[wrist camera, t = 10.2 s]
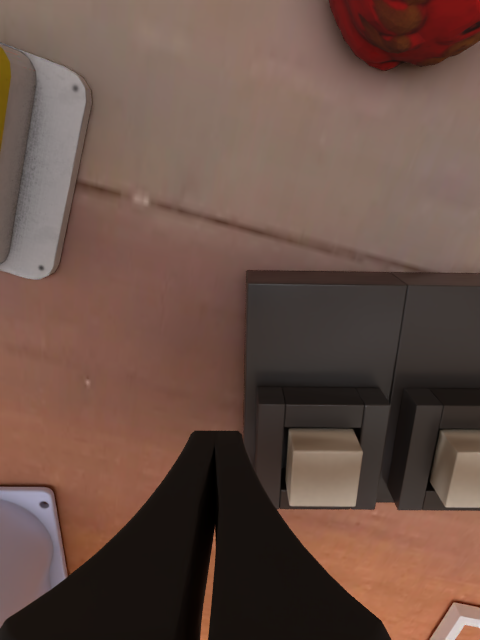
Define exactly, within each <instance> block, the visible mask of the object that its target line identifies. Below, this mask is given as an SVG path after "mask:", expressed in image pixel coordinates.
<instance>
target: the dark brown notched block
mask: <svg viewBox="0 0 480 640" xmlns="http://www.w3.org/2000/svg"><path fill="white" fill-rule="evenodd" d="M391 274H392V275H393V276H395V277H396V278H398V279H399V280H400V281H402V282H403V283H404V284H406V285H407V290H406V297H405V303H404V309H403V316H402V322H401V329H400V335H399V342H398V348H397V354H396V361H395V367H394V374H393V380H392V387H391V393H390V400H389V403H390V405H391V409H390V416H389V422H388V428H387V435H386V441H385V447H384V454H383V460H382V466H381V473H380V479H379V485H378V492H377V498H376V502H393V503H395V505H396V507H397V509H398V510H468V511H480V508H455V507H445V506H444V504H443V503H442V501H441V499H440V498H439V496H438V494H437V493H436V491H435V489H434V488H433V486H432V485H431V483H430V481H429V480H430V475H431V470H432V465H433V461H434V456H435V451H436V446H437V441H438V437H439V432H440V429H480V274H478V273H403V272H391Z"/></svg>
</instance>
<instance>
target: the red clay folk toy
mask: <svg viewBox="0 0 480 640" xmlns="http://www.w3.org/2000/svg"><path fill="white" fill-rule="evenodd" d="M329 3H330V8H331V10H332V13H333V15H334V18H335V21H336V23H337V26H338V27H339V29H340V30H341V33H342V36H343V38H344V40H345V41H346V43H347V44H348V45H349V47H350V48H351V50H352V51H353V52H354V54H355V55H356V56H357V57H359V58H361V59H362V60H364V61H365V62H366V63H367V64H368V65H369V66H372V67H375V68H378V69H381V70H389V69H391V68H394V67H396V66H398V65H399V64H401V63H403V62H407V63H411V64H414V65H417V66H421V67H422V66H429V65H435V64H437V63H439V62H441V61H443V60H444V59H446V58H448V57H450V56H455V55H457V54H459V53H461V52H462V51H464V50H466V49H467V48H469V47H471V46H472V45H474V44H475V43H476V42H478V41H479V40H480V0H329Z"/></svg>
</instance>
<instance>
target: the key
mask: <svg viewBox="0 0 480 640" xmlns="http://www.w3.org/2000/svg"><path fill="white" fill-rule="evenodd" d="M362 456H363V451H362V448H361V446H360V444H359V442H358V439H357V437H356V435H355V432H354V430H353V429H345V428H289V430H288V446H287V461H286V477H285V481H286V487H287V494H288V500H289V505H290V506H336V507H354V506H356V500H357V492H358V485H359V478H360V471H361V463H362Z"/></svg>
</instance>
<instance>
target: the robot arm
mask: <svg viewBox="0 0 480 640" xmlns="http://www.w3.org/2000/svg"><path fill="white" fill-rule="evenodd" d="M43 501H44V502H47V503H48V504H47V503H44V502H43ZM214 529H215V532H216V557H215V569H214V582H213V594H212V605H211V616H210V627H209V637H208V640H391V638H390V636H389V634H388V632H387V630H386V629H385V627H384V625H383V623H382V621H381V620H380V619H379V618H377V617H376V616H375V615H374V614H373V613H371V612H370V611H369V610H368V609H367V608H365V607H364V606H363V605H362V604H361V603H360V602H358V601H357V600H356V599H355V598H354V597H352V596H351V595H350V594H349V593H348V592H347V591H346V590H345V589H344V588H343V587H342V586H341V585H340V584H339V583H338V582H337V581H335V580H334V579H333V578H332V577H331V576H330V575H329V574H328V573H327V571H326V570H325V569H324V568H323V567H322V566H321V565H320V564H319V563H318V562H317V560H316V559H315V558H314V557H313V556H312V555H311V554H310V553H309V552H308V551H307V549H306V548H305V547H304V546H303V545H302V543H301V542H300V541H299V540H298V538H297V537H296V536H295V535H294V533H293V532H292V531H291V529H290V528H289V527H288V525H287V524H286V523H285V521H284V520H283V518H282V517H281V515H280V514H279V513H278V511H277V509H276V508H275V506H274V505H273V503H272V502H271V500H270V498H269V497H268V495H267V493H266V491H265V490H264V488H263V486H262V484H261V482H260V480H259V478H258V476H257V474H256V472H255V470H254V468H253V466H252V464H251V462H250V459H249V457H248V454H247V452H246V449H245V446H244V443H243V438H242V434H241V433H240V432H239V431H194V432H193V433H192V434H191V435H190V437H189V440H188V441H187V443H186V445H185V447H184V449H183V451H182V452H181V454H180V456H179V457H178V459H177V461H176V462H175V464H174V465H173V467H172V468H171V470H170V471H169V472H168V474H167V475H166V477H165V478H164V480H163V481H162V482H161V484H160V485H159V486H158V488H157V489H156V490H155V492H154V493H153V494H152V495H151V497H150V498H149V499H148V501H147V502H146V503H145V504H144V505H143V506H142V508H141V509H140V510H139V511H138V512H137V513H136V514H135V516H134V517H133V518H132V519H131V520H130V521H129V522H128V523H127V524H126V525H125V526H124V527H123V528H122V529H121V530H120V531H119V532H118V533H117V534H116V535H115V536H114V537H113V538H112V539H111V540H110V541H109V542H108V543H107V544H106V545H105V546H104V547H103V548H102V549H100V550H99V551H98V552H97V553H96V554H95V555H94V556H93V557H91V558H90V559H89V560H88V561H87V562H85V563H84V564H83V565H82V566H80V567H79V568H78V569H77V570H75V571H74V572H73V573H72V574H70V575H69V576H68V574H67V568H66V562H65V556H64V550H63V544H62V538H61V532H60V526H59V520H58V515H57V509H56V503H55V497H54V493H53V491H52V490H51V489H50V488H47V487H0V640H200V632H201V620H202V611H203V603H204V596H205V589H206V583H207V576H208V569H209V563H210V556H211V549H212V542H213V536H214Z"/></svg>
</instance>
